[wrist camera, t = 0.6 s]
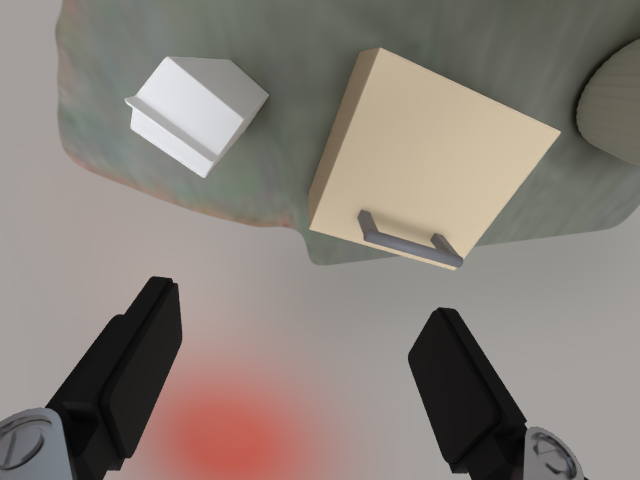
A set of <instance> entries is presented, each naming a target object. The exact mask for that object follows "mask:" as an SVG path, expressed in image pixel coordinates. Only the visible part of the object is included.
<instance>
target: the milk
mask: <svg viewBox="0 0 640 480" xmlns="http://www.w3.org/2000/svg"><path fill="white" fill-rule="evenodd" d="M268 97H269V94H268V93H267V92H266V91H264V90H263V89H262V88H261V87H260V86H259V85H258V84H257V83H256V82H254V81H253V80H252V79H251V78H250V77H249V76H248V75H247V74H246V73H244V72H243V71H242V70H241V69H240V68H239V67H238V66H237V65H236V64H234V63H233V62H232V61H231V60H226V59H207V58H188V57H169V56H167V57H166V58H165V59H164V60H163V61H162V62H161V64H160V65H159V66H158V67H157V69H156V70H155V71H154V73H153V74H152V75H151V76H150V78H149V79H148V80H147V82H146V83H145V84H144V85H143V87H142V88H141V89H140V90H139V92H138V93H137V94H136V96H133V97H128V98H125V102H126V103H127V104H128V105H129V106H131V107H132V108H133V112H132V120H131V129H132V130H134V131H135V132H136V133H138V134H139V135H141V136H142V137H144V138H145V139H147V140H148V141H150V142H151V143H153V144H154V145H156V146H157V147H159V148H160V149H161V150H163V151H164V152H166V153H167V154H169V155H170V156H172V157H173V158H175V159H176V160H178V161H179V162H181V163H182V164H184V165H185V166H186V167H188V168H189V169H191V170H192V171H194V172H195V173H197V174H198V175H200V176H201V177H203V178H205V177H206V176H207V174H208V173H209V172H210V171H211V170H212V169H213V167H214V166H215V165H216V164H217V163H218V162H219V160H220V159H221V158H222V157H223V156H224V155H225V153H226V152H227V151H228V150H229V149H230V148H231V146H232V145H233V144H234V143H235V142H236V141H237V139H238V138H239V137H240V136H241V135H242V134H243V132H244V131H245V130H246V129H247V127H248V126H249V124H250V123H251V121H252V120H253V118H254V117H255V116H256V114H257V113H258V111H259V110H260V108H261V107H262V106H263V104H264V103H265V101H266V100H267V98H268Z"/></svg>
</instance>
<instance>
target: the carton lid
mask: <svg viewBox="0 0 640 480" xmlns="http://www.w3.org/2000/svg"><path fill="white" fill-rule="evenodd" d="M560 133H561V131H558V130H556V129H554V128H552V127H550V126H548V125H546V124H543V123H541V122H539V121H537V120H535V119H533V118H531V117H528V116H526V115H524V114H522V113H520V112H518V111H516V110H513V109H511V108H509V107H507V106H505V105H503V104H501V103H498V102H496V101H494V100H492V99H490V98H488V97H486V96H484V95H481V94H479V93H477V92H475V91H473V90H471V89H469V88H466V87H464V86H462V85H460V84H458V83H456V82H454V81H451V80H449V79H447V78H445V77H443V76H441V75H439V74H436V73H434V72H432V71H430V70H428V69H426V68H424V67H421V66H419V65H417V64H415V63H413V62H411V61H409V60H406V59H404V58H402V57H400V56H398V55H396V54H394V53H391V52H389V51H387V50H385V49H383V48H381V47H379V48H378V50H377V52H376V55H375V57H374V60H373V62H372V65H371V68H370V70H369V73H368V75H367V78H366V81H365V83H364V86H363V88H362V91H361V93H360V96H359V99H358V101H357V104H356V106H355V109H354V112H353V114H352V117H351V119H350V122H349V124H348V127H347V130H346V132H345V135H344V137H343V140H342V143H341V145H340V148H339V150H338V153H337V155H336V158H335V161H334V163H333V166H332V168H331V171H330V174H329V176H328V179H327V181H326V184H325V187H324V189H323V192H322V194H321V197H320V199H319V202H318V205H317V207H316V210H315V212H314V215H313V218H312V220H311V223H310V225H309V229H310V230H313V231H317V232H320V233H324V234H327V235H331V236H334V237H338V238H342V239H345V240H349V241H352V242H356V243H359V244H363V245H366V246H370V247H373V248H377V249H380V250H384V251H387V252H391V253H394V254H398V255H402V256H405V257H409V258H412V259H416V260H419V261H423V262H427V263H430V264H433V265H437V266H440V267H444V268H447V269H451V270H455V269H456V268H458V267H460V266H462V264H463V259H464V258H465V257H466V255H467V254H468V252H469V251H470V250H471V249H472V247H473V246H474V245H475V244H476V242H477V241H478V240H479V238H480V237H481V236H482V234H483V233H484V232H485V231H486V229H487V228H488V227H489V225H490V224H491V223H492V221H493V220H494V219H495V218H496V216H497V215H498V214H499V212H500V211H501V210H502V209H503V207H504V206H505V205H506V203H507V202H508V201H509V199H510V198H511V197H512V196H513V194H514V193H515V192H516V190H517V189H518V188H519V186H520V185H521V184H522V183H523V181H524V180H525V179H526V177H527V176H528V175H529V173H530V172H531V171H532V170H533V168H534V167H535V166H536V164H537V163H538V162H539V160H540V159H541V158H542V157H543V155H544V154H545V153H546V151H547V150H548V149H549V147H550V146H551V145H552V144H553V142H554V141H555V140H556V138H557V137H558V136H559V135H560Z"/></svg>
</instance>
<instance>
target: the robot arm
mask: <svg viewBox="0 0 640 480" xmlns="http://www.w3.org/2000/svg"><path fill="white" fill-rule="evenodd" d="M181 342H182V325H181V314H180V302H179V291H178V284H177V283H173V280H172V279H171V278H164V277H155V276H153V277H151V278H150V279H149V281H148V282H147V283H146V285H145V286H144V288H143V289H142V290H141V292H140V293H139V294H138V296H137V297H136V299H135V300H134V301H133V303H132V304H131V306H130V307H129V308H128V310H127V311H126V313H125V314H124V315H122V314H119V315H116V316H114V317H113V318H112V319H111V320H110V321H109V323H108V324H107V325H106V327H105V328H104V330H103V331H102V332H101V333H100V335H99V336H98V337H97V339H96V340H95V341H94V343H93V344H92V346H91V347H90V348H89V349H88V351H87V352H86V353H85V355H84V356H83V357H82V359H81V360H80V361H79V363H78V364H77V365H76V367H75V368H74V369H73V371H72V372H71V373H70V375H69V376H68V377H67V379H66V380H65V381H64V383H63V384H62V386H61V387H60V388H59V389H58V391H57V392H56V393H55V395H54V396H53V397H52V399H51V400H50V401H49V403H48V404H47V405H46V407H45V408H34V409H27V410H25V411H22V412H19V413H16V414H13V415H12V416H10V417H8V418H6V419H4V420H2V421H1V422H0V480H103V478H104V476H105V474H106V472H107V470H116V471H118V470H120V469H121V467H122V464H123V462H124V460H125V458H131V457H132V455H133V454H134V452H135V450H136V448H137V445H138V443H139V441H140V438H141V436H142V434H143V431H144V429H145V427H146V424H147V422H148V420H149V418H150V415H151V413H152V410H153V408H154V406H155V403H156V401H157V399H158V397H159V394H160V392H161V390H162V387H163V385H164V383H165V380H166V378H167V376H168V373H169V371H170V369H171V366H172V364H173V362H174V359H175V357H176V355H177V352H178V350H179V348H180V345H181ZM408 361H409V365H410V368H411V371H412V373H413V376H414V379H415V382H416V385H417V387H418V390H419V393H420V395H421V398H422V401H423V404H424V407H425V409H426V412H427V415H428V417H429V420H430V423H431V426H432V429H433V431H434V434H435V437H436V440H437V442H438V445H439V448H440V451H441V453H442V456H443V458H444V460H445V461H446V462H447V463H449V466H450V469H451V471H452V473H468V472H469V475H470V477H471V479H472V480H588V479H587V478H585V477H584V475H583V471H582V468H581V466H580V464H579V462H578V460H577V458H576V456H575V455H574V454H573V452H572V451H571V450H570V449H569V447H568V446H566V444H564V442H563V441H561V440H560V439H559V438H558V437H557V436H555V435H554V434H552V433H551V432H549V431H547V430H545V429H543V428H539V427H530V428H529V429H527V427H526V426H525V424H524V423H526V422H527V420H526V418H525V417H524V415H523V414H522V412H521V411H520V409H519V407H518V406H517V404H516V403H515V401H514V400H513V398H512V396H511V395H510V393H509V392H508V390H507V389H506V387H505V385H504V384H503V382H502V381H501V379H500V378H499V376H498V375H497V373H496V371H495V370H494V368H493V367H492V365H491V364H490V362H489V360H488V359H487V358H486V356H485V354H484V352H483V351H482V349H481V348H480V346H479V345H478V343H477V342H476V340H475V338H474V337H473V335H472V334H471V332H470V331H469V329H468V327H467V326H466V324H465V323H464V321H463V320H462V318H461V316H460V315H459V313H458V312H457V311H456V310H455V309H451V308H441V307H439V308H437V310H436V311H433V312H432V314H431V316H430V318H429V319H428V321H427V323H426V324H425V326H424V328H423V330H422V331H421V333H420V335H419V337H418V338H417V340H416V342H415V343H414V345H413V347H412V349H411V350H410V352H409V354H408Z"/></svg>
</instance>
